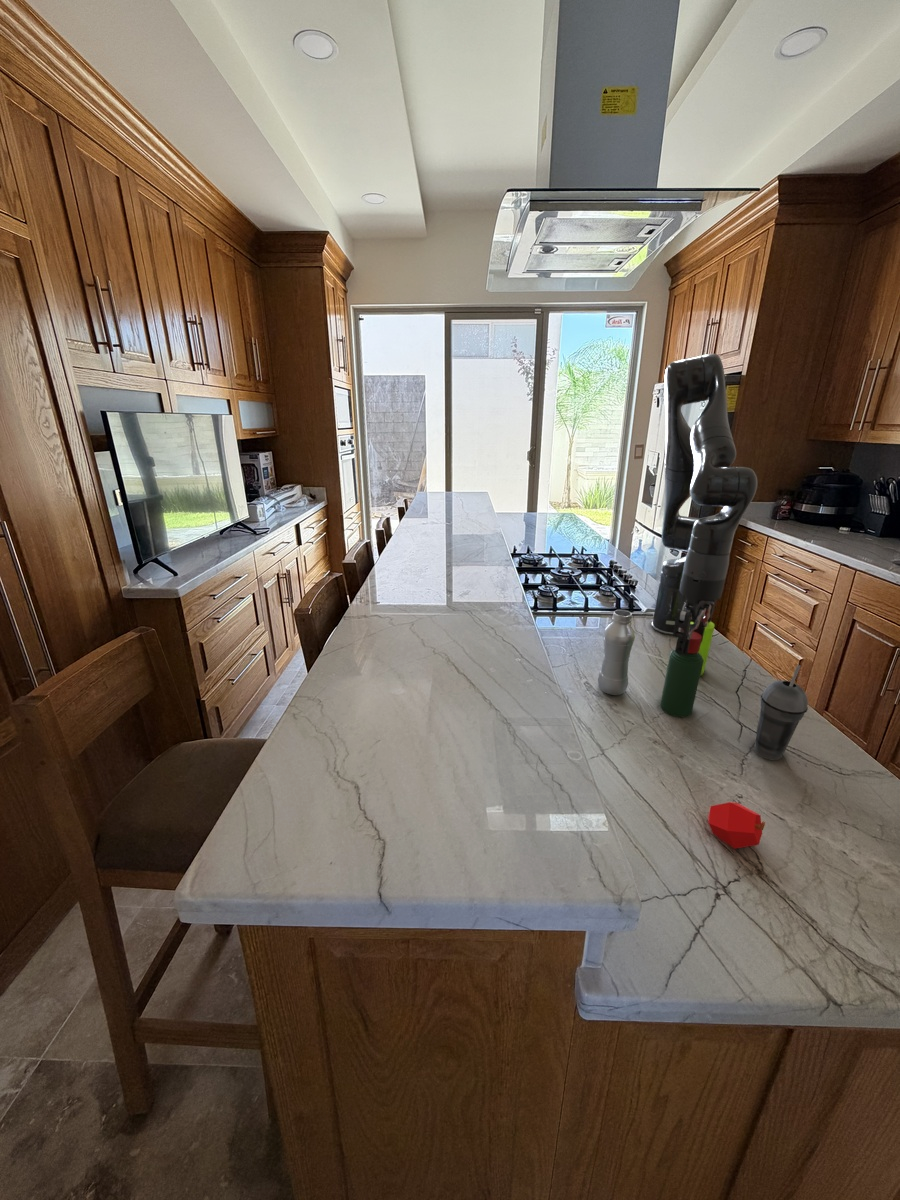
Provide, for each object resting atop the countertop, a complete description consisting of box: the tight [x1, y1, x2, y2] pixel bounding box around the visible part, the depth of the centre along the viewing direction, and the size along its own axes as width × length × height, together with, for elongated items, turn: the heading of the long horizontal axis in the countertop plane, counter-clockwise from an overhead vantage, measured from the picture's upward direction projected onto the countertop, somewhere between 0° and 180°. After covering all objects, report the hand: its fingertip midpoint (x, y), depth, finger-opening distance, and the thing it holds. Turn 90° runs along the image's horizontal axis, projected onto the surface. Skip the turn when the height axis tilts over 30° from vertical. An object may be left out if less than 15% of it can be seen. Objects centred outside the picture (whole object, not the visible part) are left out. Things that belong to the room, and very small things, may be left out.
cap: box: [683, 631, 702, 653], centre depth 100 cm, size 4×4×3 cm
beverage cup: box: [754, 664, 809, 761], centre depth 89 cm, size 7×7×20 cm
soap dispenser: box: [689, 620, 716, 677], centre depth 117 cm, size 6×7×20 cm
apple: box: [707, 801, 766, 850], centre depth 74 cm, size 7×7×8 cm
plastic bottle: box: [597, 609, 636, 696], centre depth 109 cm, size 6×7×20 cm
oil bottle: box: [659, 649, 704, 718], centre depth 103 cm, size 6×6×18 cm
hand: (688, 647), depth 100 cm, fingers open, 6 cm apart
